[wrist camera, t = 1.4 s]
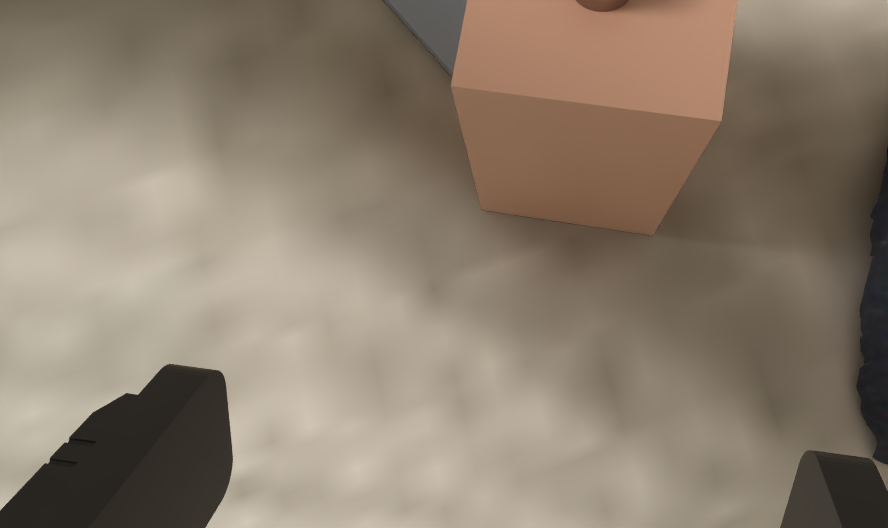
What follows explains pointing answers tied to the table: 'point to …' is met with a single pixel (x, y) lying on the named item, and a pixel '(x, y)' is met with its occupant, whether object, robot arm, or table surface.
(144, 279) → the table surface
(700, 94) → the tan rectangular block
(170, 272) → the table surface
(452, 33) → the mat
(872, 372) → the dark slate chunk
